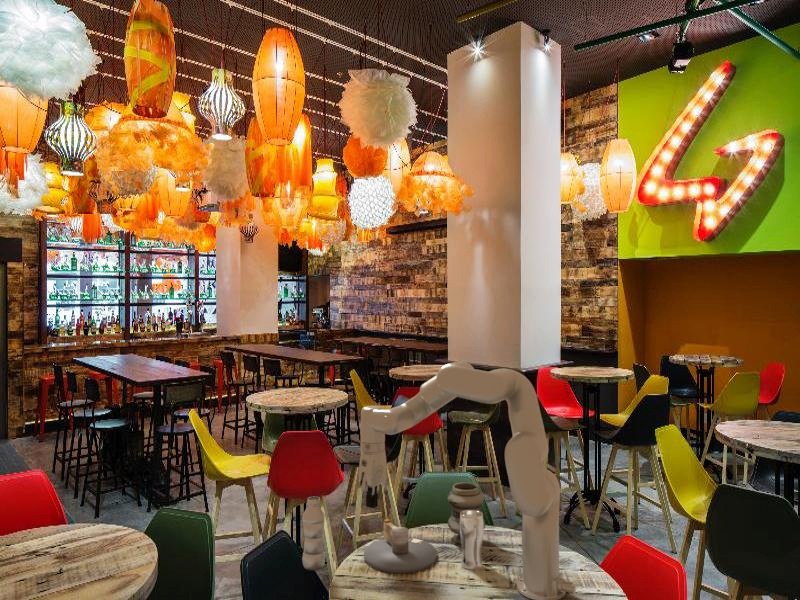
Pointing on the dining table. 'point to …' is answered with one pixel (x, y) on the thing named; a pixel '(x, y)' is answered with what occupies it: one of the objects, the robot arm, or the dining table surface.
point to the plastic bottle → (313, 535)
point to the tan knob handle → (396, 537)
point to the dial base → (400, 556)
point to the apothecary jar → (463, 505)
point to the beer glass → (471, 538)
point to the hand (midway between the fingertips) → (371, 506)
